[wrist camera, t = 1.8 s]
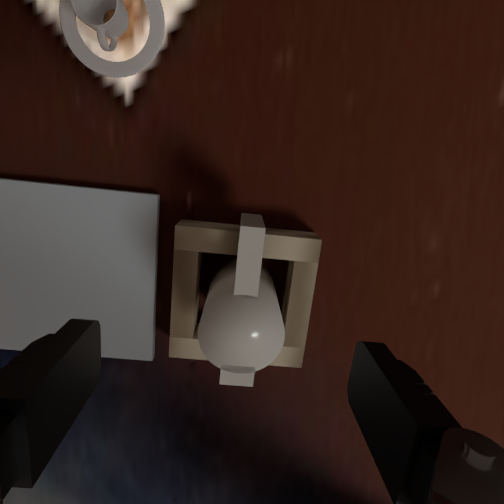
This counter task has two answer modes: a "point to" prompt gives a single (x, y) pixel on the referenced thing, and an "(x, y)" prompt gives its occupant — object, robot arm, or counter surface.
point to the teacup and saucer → (110, 33)
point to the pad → (78, 264)
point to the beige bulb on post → (242, 311)
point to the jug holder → (226, 242)
